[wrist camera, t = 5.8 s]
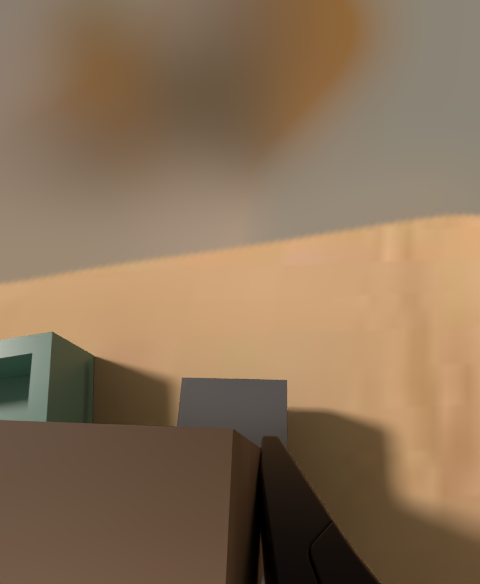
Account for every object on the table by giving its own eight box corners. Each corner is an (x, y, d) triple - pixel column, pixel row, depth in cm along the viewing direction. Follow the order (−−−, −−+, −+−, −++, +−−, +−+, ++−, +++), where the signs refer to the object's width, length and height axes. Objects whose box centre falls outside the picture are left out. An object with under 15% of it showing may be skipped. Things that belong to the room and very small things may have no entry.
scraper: (287, 624, 14) (296, 1549, 2) (175, 614, 14) (-351, 1317, 2) (286, 391, 17) (288, 220, 5) (194, 388, 18) (4, 226, 6)
